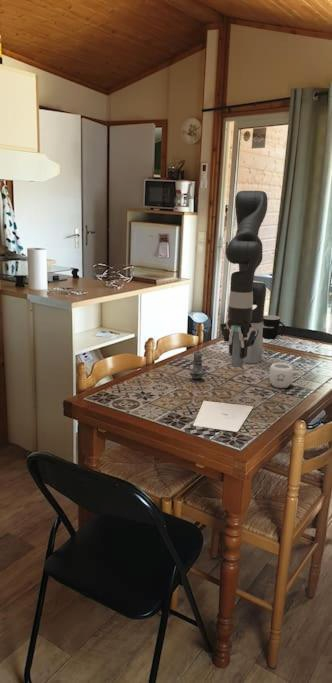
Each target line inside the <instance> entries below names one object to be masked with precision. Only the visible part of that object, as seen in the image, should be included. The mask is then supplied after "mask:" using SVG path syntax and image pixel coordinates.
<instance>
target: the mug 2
mask: <svg viewBox="0 0 332 683" xmlns="http://www.w3.org/2000/svg"><path fill="white" fill-rule="evenodd" d="M268 373H269V374H268V375H269V382H270V384H271V386H272V387H274V388H277V389H278V388H279V389H286V388H288V387H290V386H291V385H292V386H294V387H299V386H300V385H302V383H303V380H304V379H303V378H304V377H303V375H302V373H301V372H300V371H298V370H294V367H293V365H291V364H289V363H286V362H275V363H274V362H273V363H272V364H271V365H270V367H269V372H268ZM294 374H298V375H299V377H300V380H299V383H294V382H292V381H293V378H294Z"/></svg>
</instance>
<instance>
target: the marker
mask: <svg viewBox="0 0 332 683" xmlns="http://www.w3.org/2000/svg"><path fill="white" fill-rule="evenodd" d="M238 327H241V326H238V325H234V333H233V347H232V356H231V367H232V368H236V369H237V368H243V364H244V363H243V359H242V358H240V352H241V341H240V340H239V333H238ZM243 338H244V336H243Z"/></svg>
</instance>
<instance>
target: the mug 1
mask: <svg viewBox="0 0 332 683" xmlns="http://www.w3.org/2000/svg"><path fill="white" fill-rule="evenodd" d="M280 325H282V328H283V330H282V332H280V333H279V328H280ZM285 326H286V325H285V324H284V323H283V322H282V321H281V318H280V317H279V316H278V315H272V314H271V315H269V314H267V315H265V314H264V318H263V333H262V338H263V339H266V340H274V339H276V338H277V337H278V336H280V335H283V334H284V333H285V331H286V327H285Z"/></svg>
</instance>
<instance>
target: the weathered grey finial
mask: <svg viewBox="0 0 332 683" xmlns="http://www.w3.org/2000/svg"><path fill="white" fill-rule="evenodd" d="M202 356H203V354H202V352H200V351H199V349H197V351H196V352H194V353H193V361H192V363H193V364H192V365H193V366H192V367H193V368H192V369H189V375H190V376H191V378H189V381H190V382H192V383H195V384H196V383H197V384H200V383H203V382H205V380H204V379H205V378H203V377H204V376H205V372H206V371H205V369H203V366H202V365H203V361H202V360H203V359H202Z"/></svg>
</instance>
